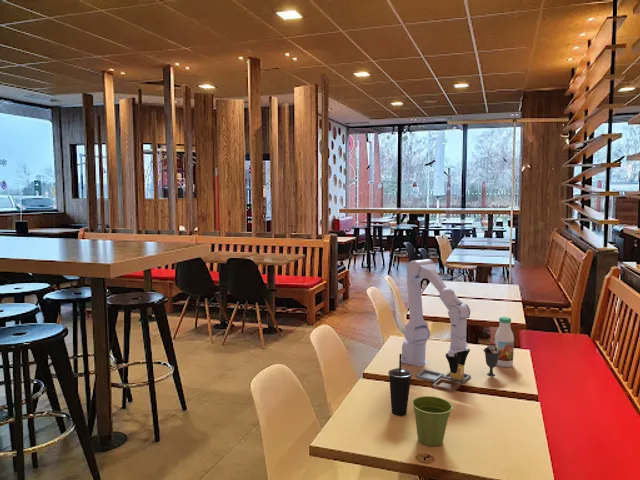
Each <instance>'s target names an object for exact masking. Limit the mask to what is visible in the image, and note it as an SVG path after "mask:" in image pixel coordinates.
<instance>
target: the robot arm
mask: <svg viewBox="0 0 640 480" xmlns="http://www.w3.org/2000/svg"><path fill="white" fill-rule="evenodd" d="M423 279H427V280H428V281H429V282H430V283H431V285H433V287H434V288H435V289H436V290H437V292H438V293H439V294H438V295H439V300H440V301H441V302H442V304H444V306H445V308H446V309H447V314H448V317H449V322H450V346H449V350H448V351H447V352H446V353H445V358H446V360H447V362H448V366H449V372H450V371H451V373H457V369H458V364H461V365H464V366H465V365H466V360H467V357H468V355H469V353H470V351H471V349H470V347H468V342H467V326H468V324H467V323H468V322H467V321H468V318H469V317H470V316H471V308H470V307H469V305H468V304H467V303H465V302H463V301H461V300H460V298H459V297H458V295H456V293H455V290H453V289H452V288H448V287H447V285H446V284H445V282H444V281H443V279H442V277H441V275H440V274H439V273H438V272H437V266H436V264H435V263H434V261H433V260H432V259H431V258H424V259H417V260H410V261H409V262H408V264H407V265H406V284H407V297H408V299H407V300H408V310H409V320H408V321H407V322H406V324H405V330H404V339H405V340H404V341H403V342H402V346H401V354H402V358H401V364H402V363H403V364H407V365H411V366H417V367H423V366H425V365H426V364H427V363H430V361H429V360H426V354H427V353H426V349H427V348H426V346H427V344H426V343H428V340H429V339H430V336H431V329H430V327H429V324H428V322H427V321H426V320H425V319H424V311H423V302H422V300H423V299H422V288H421V286H422V285H421V282H422V281H423Z"/></svg>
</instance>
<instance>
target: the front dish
mask: <svg viewBox="0 0 640 480" xmlns="http://www.w3.org/2000/svg"><path fill="white" fill-rule="evenodd" d="M431 386H432V387H431V388H434V389H438V390H442V391H445V392H450V393H454V392H455V391H457V390H458V389H459V388H460V387H462V384H461V383H460V382H456V381H451V380H447V379H443V377H442V378H440V379H439V380H438V381H436V382H433V383H432V385H431Z"/></svg>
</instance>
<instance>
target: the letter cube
mask: <svg viewBox="0 0 640 480" xmlns="http://www.w3.org/2000/svg"><path fill="white" fill-rule="evenodd" d="M449 372H450V378H454V379H459V380H462V379H463V378H464V373H465V365H461V364H458V369H457V373H451V371H450V370H449Z"/></svg>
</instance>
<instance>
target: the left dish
mask: <svg viewBox="0 0 640 480" xmlns="http://www.w3.org/2000/svg"><path fill="white" fill-rule="evenodd" d="M444 375H445V373H443V372H438V371H433V370H429V369H427V368H425V369H424V368H423V369H422V370H421V371H420V372H418V373H417V374H415V378H416V379H420V380H423V381H428V382H432V383H435V382H436V381H438V380H439V379H440V378H443V376H444Z"/></svg>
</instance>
